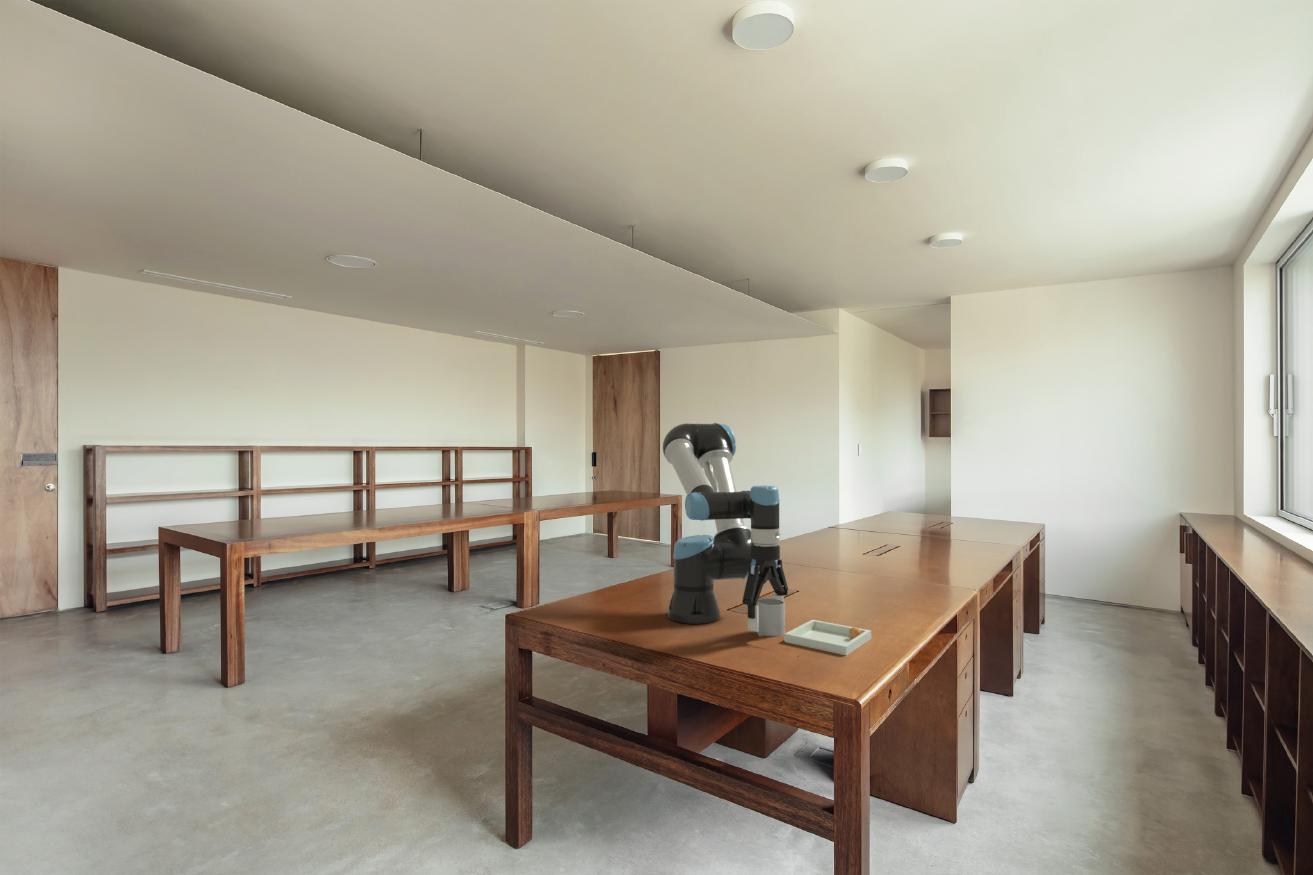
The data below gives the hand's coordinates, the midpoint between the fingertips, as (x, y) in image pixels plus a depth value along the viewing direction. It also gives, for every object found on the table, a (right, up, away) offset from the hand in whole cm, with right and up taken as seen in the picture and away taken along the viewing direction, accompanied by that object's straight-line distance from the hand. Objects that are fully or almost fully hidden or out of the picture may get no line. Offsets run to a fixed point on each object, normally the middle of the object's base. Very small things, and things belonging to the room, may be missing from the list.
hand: (766, 625), depth 162 cm
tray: (+14, -3, -7) cm, 16 cm away
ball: (+21, -2, -7) cm, 22 cm away
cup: (0, -3, 0) cm, 3 cm away
